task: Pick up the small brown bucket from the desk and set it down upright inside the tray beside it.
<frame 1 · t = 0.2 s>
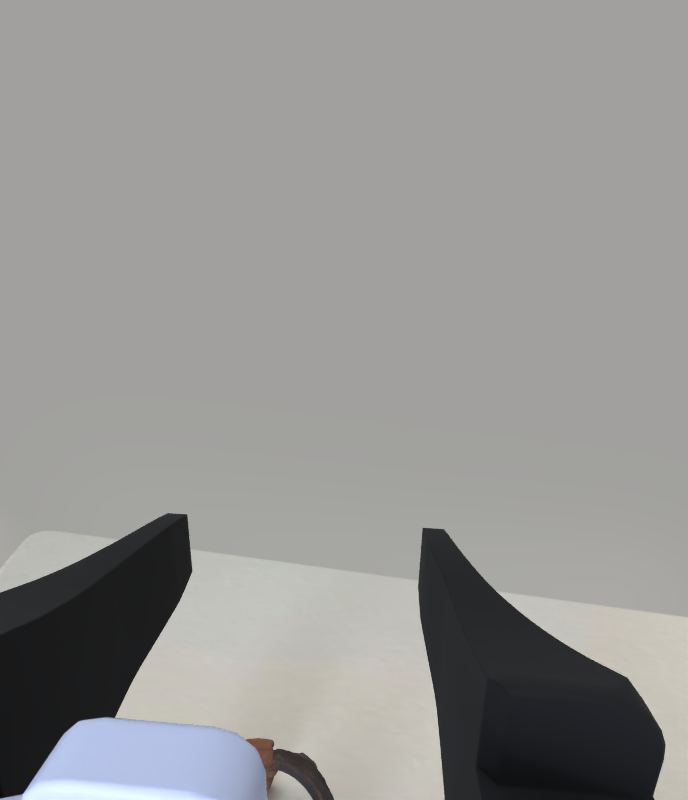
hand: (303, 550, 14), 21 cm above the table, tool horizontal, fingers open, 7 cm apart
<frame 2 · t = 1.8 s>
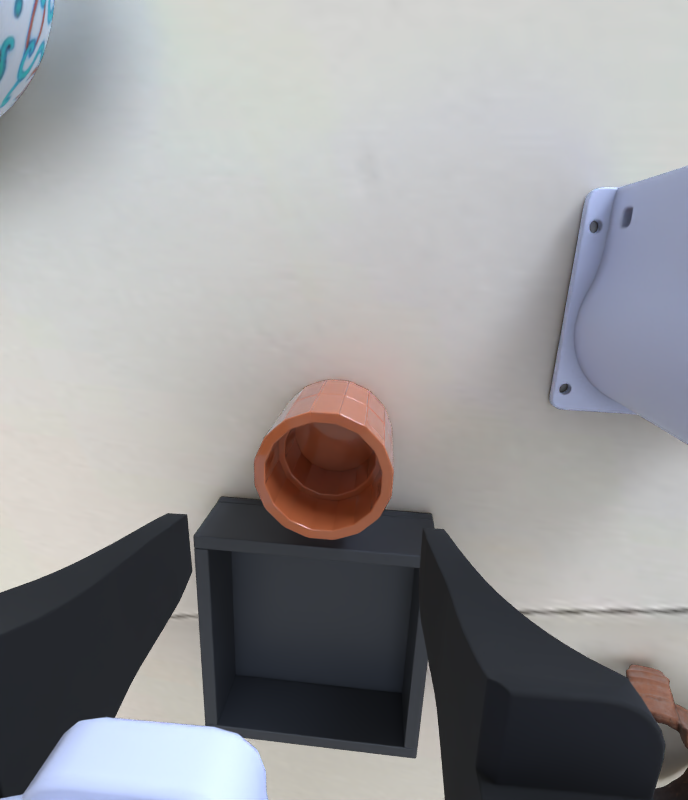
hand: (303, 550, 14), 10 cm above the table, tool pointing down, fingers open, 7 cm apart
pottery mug: (646, 721, 27), on the table
tray: (321, 600, 26), on the table
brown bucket: (336, 429, 23), on the table
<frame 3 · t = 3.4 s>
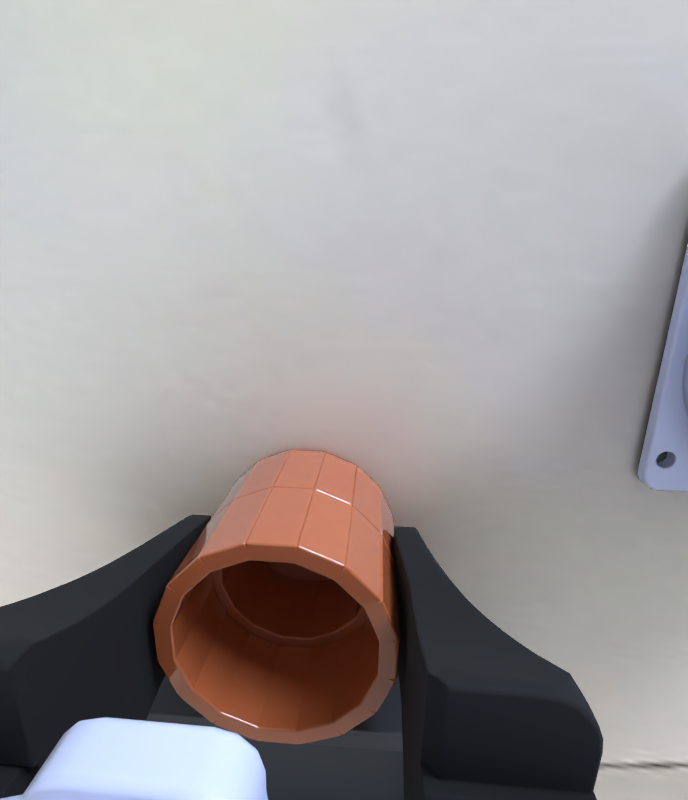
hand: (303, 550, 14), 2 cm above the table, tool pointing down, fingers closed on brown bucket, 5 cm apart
tray: (298, 749, 18), on the table
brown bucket: (310, 519, 15), on the table, touching gripper
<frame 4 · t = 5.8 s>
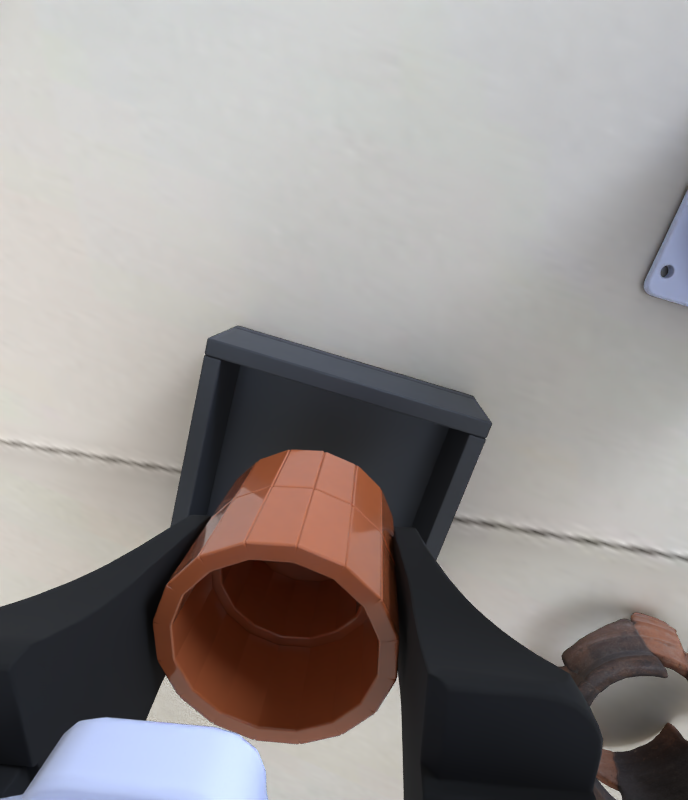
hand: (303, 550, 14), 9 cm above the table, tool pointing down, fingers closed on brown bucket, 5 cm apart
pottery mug: (629, 679, 25), on the table
tray: (320, 477, 23), on the table
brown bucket: (310, 519, 15), point 7 cm above the table, touching gripper
when the fingers open (2 cm above the table, at t = 8.5 s): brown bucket stays where it is, resting on tray.
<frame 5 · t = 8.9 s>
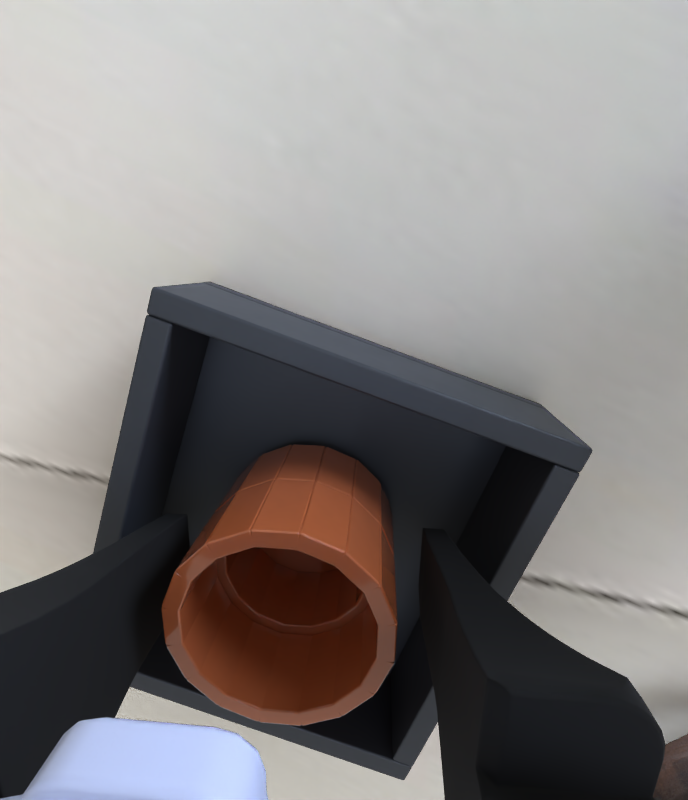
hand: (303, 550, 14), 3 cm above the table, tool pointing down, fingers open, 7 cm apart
tray: (315, 504, 16), on the table
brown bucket: (311, 512, 16), point 1 cm above the table, touching tray
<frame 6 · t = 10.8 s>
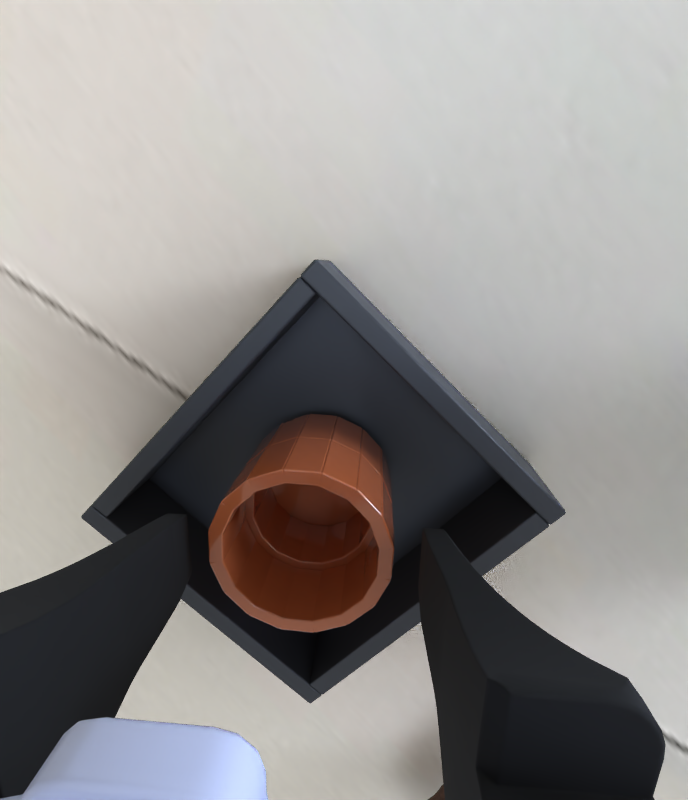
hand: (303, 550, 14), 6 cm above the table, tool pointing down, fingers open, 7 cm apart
tray: (325, 468, 19), on the table
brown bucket: (322, 474, 19), point 1 cm above the table, touching tray
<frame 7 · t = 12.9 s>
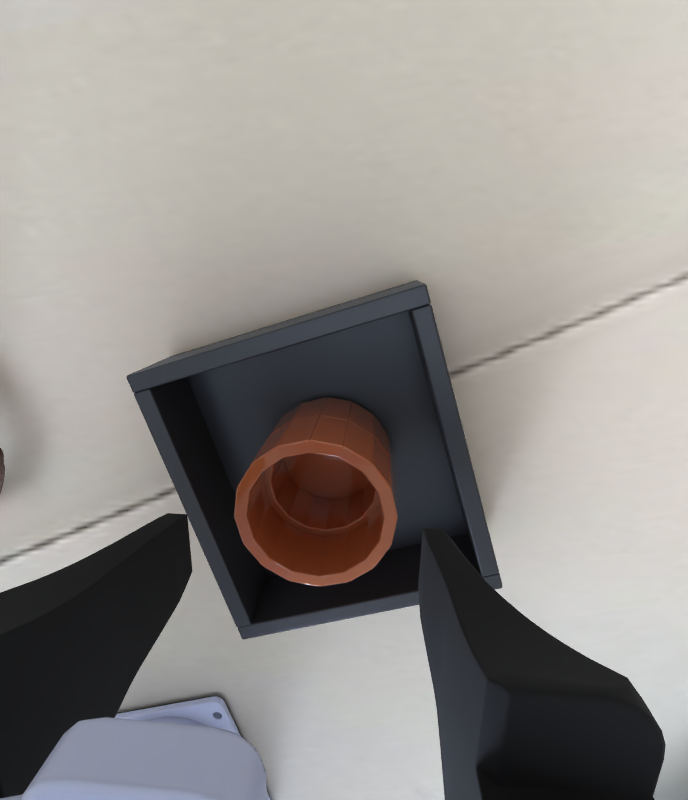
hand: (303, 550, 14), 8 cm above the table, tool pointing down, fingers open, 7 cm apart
tray: (331, 448, 21), on the table
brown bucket: (331, 453, 21), point 1 cm above the table, touching tray
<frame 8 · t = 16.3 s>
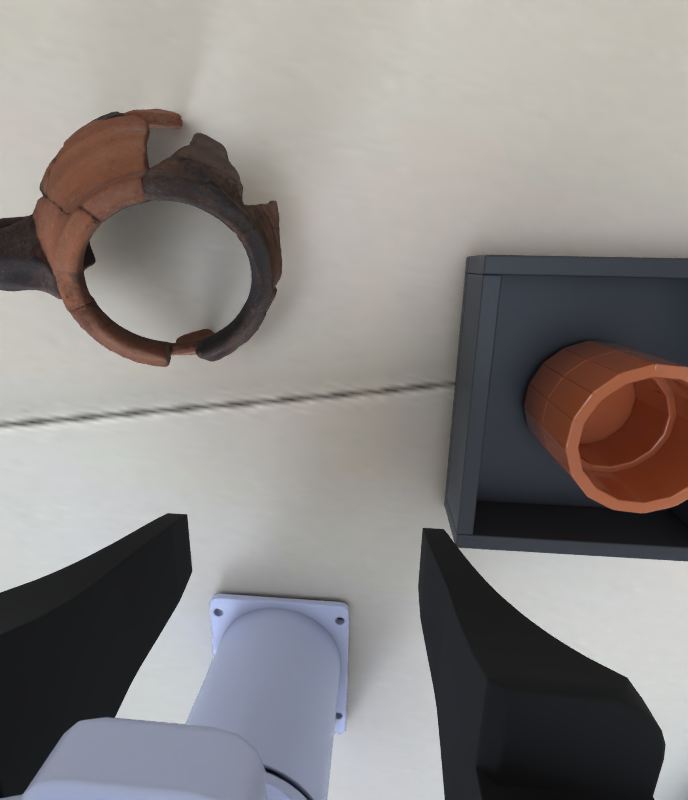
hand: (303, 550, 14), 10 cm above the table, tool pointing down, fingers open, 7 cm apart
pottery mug: (167, 242, 21), on the table
tray: (575, 395, 22), on the table
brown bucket: (582, 398, 21), point 1 cm above the table, touching tray
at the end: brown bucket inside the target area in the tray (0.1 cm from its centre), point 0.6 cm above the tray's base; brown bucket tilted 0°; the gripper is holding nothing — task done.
